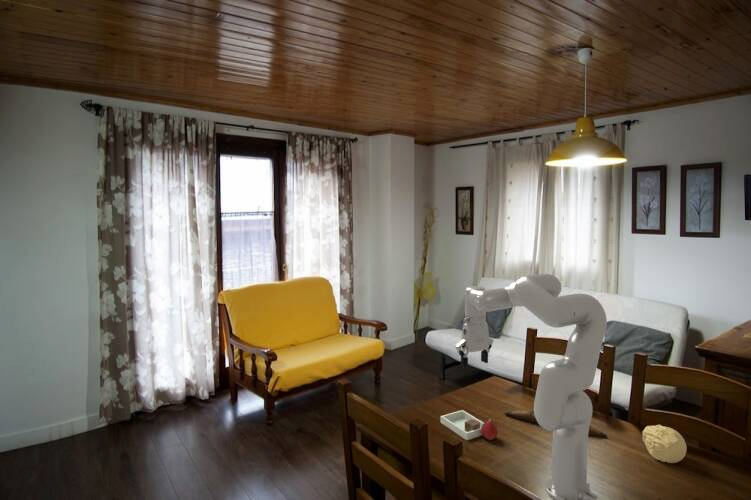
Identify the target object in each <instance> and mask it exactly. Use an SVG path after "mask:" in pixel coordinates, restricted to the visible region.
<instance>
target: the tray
mask: <svg viewBox="0 0 751 500" xmlns="http://www.w3.org/2000/svg"><path fill="white" fill-rule="evenodd" d="M439 418H440V423H441V424H442V425H443V426H445V427H447V428H448V429H450V430H451V431H453V432H454V433H456V434H457V435H458V436H460V437H461V438H463V439H464V440H466V441H469V440H472V439H474V438H478V437H481V436H482V437H483V435H482V432H481V428H482V426H483V424H484V423H485V422H483V421H482V420H481V419H478V418H476V417H475V416H473V415H472V414H470V413H469V412H467V411H465V410H464V409H462V410H457V411H454V412H451V413H447V414H444V415H440V417H439ZM470 419H473V420H476V421H478V422H480V428H479V429H476V430H472V431H469V432H466V431H465V421H468V420H470Z"/></svg>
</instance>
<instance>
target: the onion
mask: <svg viewBox="0 0 751 500" xmlns="http://www.w3.org/2000/svg"><path fill="white" fill-rule="evenodd" d="M481 432H482V437H484V438H485V439H486V440H487V441H492V440H494V439H495V438H497V435H498V433H499V431H498V428H497V425H496V424H495V423H494V422H493V421H492V419H489V420H487V421H485V422H484V424H483V426H482V428H481Z"/></svg>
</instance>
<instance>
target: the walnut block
mask: <svg viewBox="0 0 751 500" xmlns="http://www.w3.org/2000/svg"><path fill="white" fill-rule="evenodd" d="M479 428H480V422H478V421H476V420H473V419H470V420H468V421H465V431H466V432H469V431H472V430H476V429H479Z"/></svg>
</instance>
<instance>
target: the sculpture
mask: <svg viewBox="0 0 751 500" xmlns="http://www.w3.org/2000/svg"><path fill="white" fill-rule="evenodd" d="M642 442H643V443H644V445H645V447H646V450H647V452H648V453H649V455H650V456H651V457H653V458H654V459H655V460H657V461H659V460H660V461H659V462H662V463H665V462H667V463H666V464H676V463H679V462H680V461H681V462H682V460H683V459H684V458H685V456H686V454H687V444H686V441H685V438H684V437H683V435H682V434H681V433H679V432H678V431H677V430H675V429H673V428H671V427H668V426H663V425H662V424H656V425H647V426H646V427H645V428H644V429H643V430H642Z"/></svg>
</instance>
